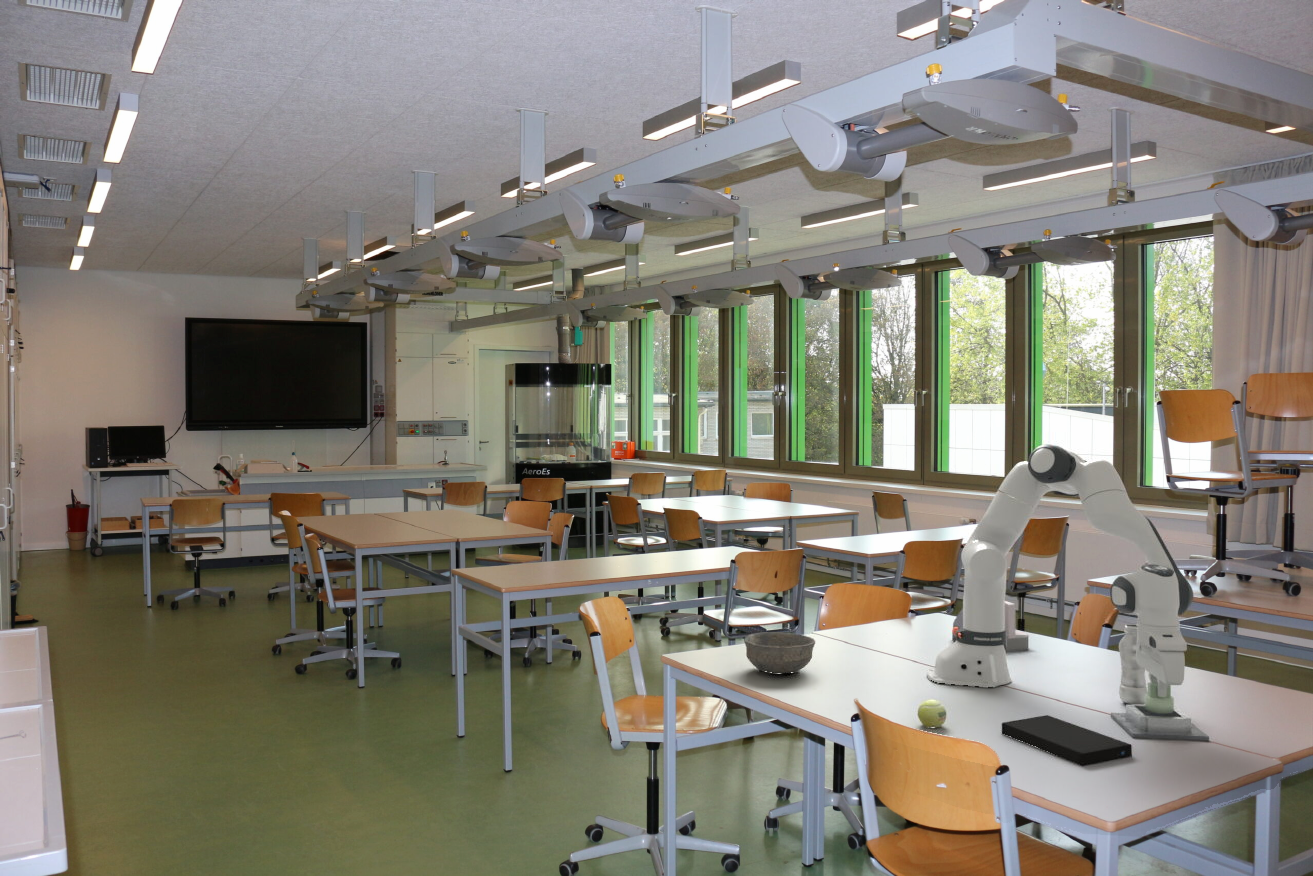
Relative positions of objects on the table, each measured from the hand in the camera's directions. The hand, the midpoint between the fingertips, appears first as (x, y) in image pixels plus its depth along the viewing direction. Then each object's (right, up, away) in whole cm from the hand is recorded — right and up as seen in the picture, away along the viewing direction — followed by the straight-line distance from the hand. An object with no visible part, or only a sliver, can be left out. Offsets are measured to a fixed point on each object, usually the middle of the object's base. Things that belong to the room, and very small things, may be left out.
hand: (1158, 694), depth 222 cm
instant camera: (-9, -8, +88) cm, 89 cm away
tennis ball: (-52, -9, +3) cm, 53 cm away
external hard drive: (-27, -9, -11) cm, 30 cm away
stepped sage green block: (0, -4, 0) cm, 4 cm away
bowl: (-82, -8, +53) cm, 98 cm away
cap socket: (0, -8, 0) cm, 8 cm away
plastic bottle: (+4, -8, +20) cm, 22 cm away
